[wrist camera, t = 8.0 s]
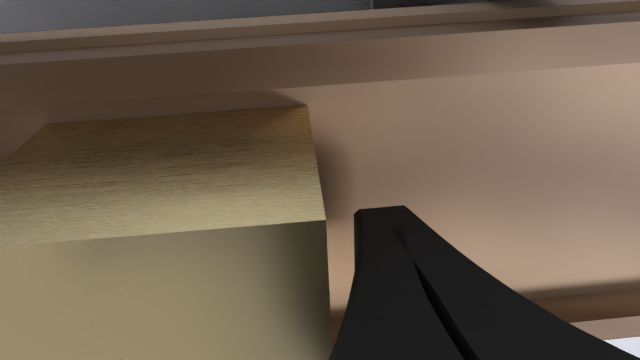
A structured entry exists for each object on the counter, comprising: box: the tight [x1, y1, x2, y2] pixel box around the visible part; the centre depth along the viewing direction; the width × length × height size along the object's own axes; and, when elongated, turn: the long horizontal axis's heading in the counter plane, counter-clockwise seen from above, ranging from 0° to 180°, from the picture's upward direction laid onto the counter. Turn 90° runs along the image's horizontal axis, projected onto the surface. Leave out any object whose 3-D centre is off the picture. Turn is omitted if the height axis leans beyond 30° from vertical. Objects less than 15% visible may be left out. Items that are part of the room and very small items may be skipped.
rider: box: [0, 105, 332, 360], centre depth 9 cm, size 6×6×4 cm
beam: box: [0, 0, 640, 349], centre depth 12 cm, size 9×28×3 cm, turn 93°
